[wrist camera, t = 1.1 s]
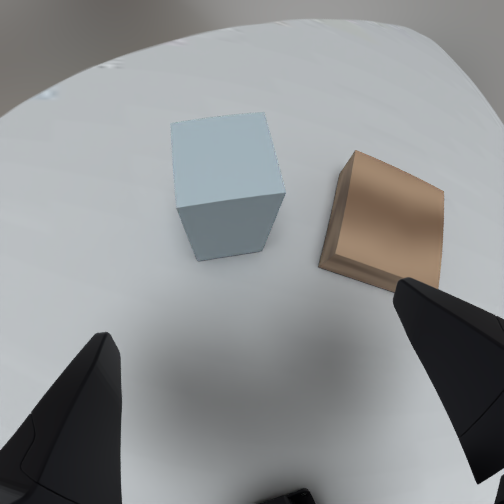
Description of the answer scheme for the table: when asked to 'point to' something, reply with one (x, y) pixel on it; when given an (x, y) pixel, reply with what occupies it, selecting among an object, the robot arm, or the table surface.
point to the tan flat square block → (384, 225)
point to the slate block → (226, 183)
